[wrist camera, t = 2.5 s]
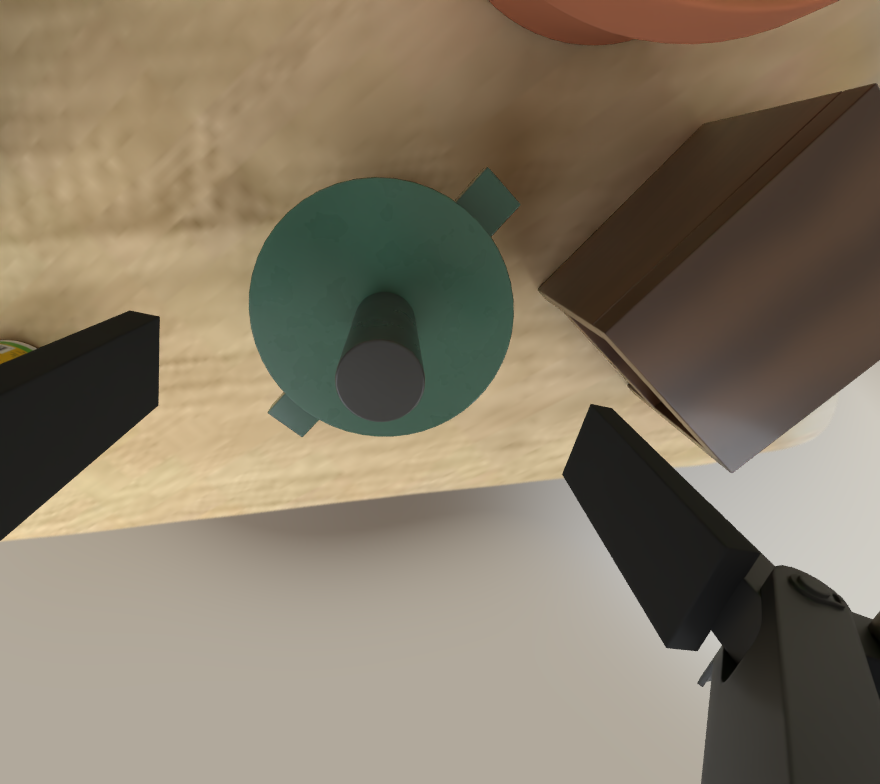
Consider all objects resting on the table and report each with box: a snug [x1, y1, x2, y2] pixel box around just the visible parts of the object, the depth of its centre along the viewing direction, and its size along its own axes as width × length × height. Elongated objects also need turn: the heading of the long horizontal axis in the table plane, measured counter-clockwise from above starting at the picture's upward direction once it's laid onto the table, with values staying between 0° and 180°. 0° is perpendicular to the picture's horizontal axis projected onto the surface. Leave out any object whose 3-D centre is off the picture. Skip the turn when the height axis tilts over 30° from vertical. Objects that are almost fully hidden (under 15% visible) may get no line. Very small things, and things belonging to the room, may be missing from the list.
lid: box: [249, 177, 514, 436], centre depth 19 cm, size 13×13×9 cm
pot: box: [268, 167, 520, 437], centre depth 27 cm, size 12×17×8 cm
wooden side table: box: [538, 83, 880, 473], centre depth 26 cm, size 12×14×11 cm
